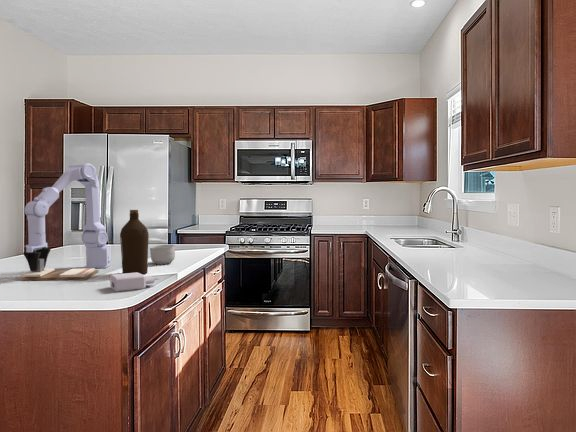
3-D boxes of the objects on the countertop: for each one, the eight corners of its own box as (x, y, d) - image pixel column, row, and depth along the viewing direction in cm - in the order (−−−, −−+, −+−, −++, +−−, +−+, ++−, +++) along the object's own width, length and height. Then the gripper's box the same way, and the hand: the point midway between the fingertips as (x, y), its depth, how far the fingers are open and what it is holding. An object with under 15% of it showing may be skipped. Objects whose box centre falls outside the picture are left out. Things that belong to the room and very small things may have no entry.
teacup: (171, 265, 214) (171, 247, 213) (146, 265, 214) (146, 247, 214) (179, 260, 228) (179, 243, 227) (155, 260, 228) (155, 243, 227)
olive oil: (151, 271, 199) (151, 209, 197) (145, 275, 188) (144, 210, 187) (125, 271, 198) (124, 209, 197) (117, 276, 188) (115, 210, 186)
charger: (162, 287, 167) (116, 292, 159) (154, 283, 174) (110, 287, 166) (162, 273, 166) (116, 278, 158) (154, 270, 174) (110, 274, 166)
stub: (54, 270, 193) (54, 256, 193) (40, 276, 179) (40, 262, 179) (36, 270, 192) (35, 257, 192) (20, 276, 178) (19, 262, 178)
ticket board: (98, 272, 196) (98, 269, 196) (85, 279, 180) (85, 277, 180) (40, 273, 194) (40, 270, 194) (22, 280, 178) (22, 278, 178)
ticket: (94, 270, 195) (94, 268, 195) (83, 276, 181) (83, 274, 181) (71, 270, 194) (71, 268, 194) (58, 277, 180) (58, 274, 180)
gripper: (33, 231, 192) (34, 266, 193) (17, 235, 177) (18, 272, 178) (52, 231, 192) (53, 266, 193) (37, 234, 178) (38, 272, 179)
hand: (37, 269), depth 186 cm, fingers open, 7 cm apart
